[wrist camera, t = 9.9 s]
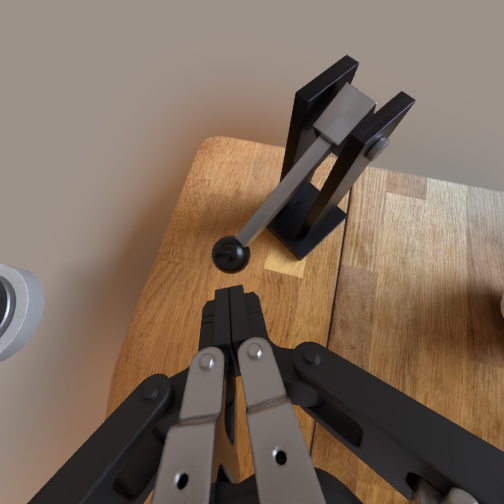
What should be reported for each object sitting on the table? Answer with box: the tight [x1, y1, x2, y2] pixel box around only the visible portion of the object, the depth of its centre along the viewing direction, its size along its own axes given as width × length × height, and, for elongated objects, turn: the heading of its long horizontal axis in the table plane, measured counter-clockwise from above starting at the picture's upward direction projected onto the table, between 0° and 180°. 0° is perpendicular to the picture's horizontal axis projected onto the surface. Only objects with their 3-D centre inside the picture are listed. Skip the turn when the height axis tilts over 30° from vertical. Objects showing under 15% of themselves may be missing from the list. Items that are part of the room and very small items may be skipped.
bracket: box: [266, 55, 416, 261], centre depth 19 cm, size 8×8×16 cm
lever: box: [212, 82, 376, 274], centre depth 16 cm, size 15×3×3 cm
